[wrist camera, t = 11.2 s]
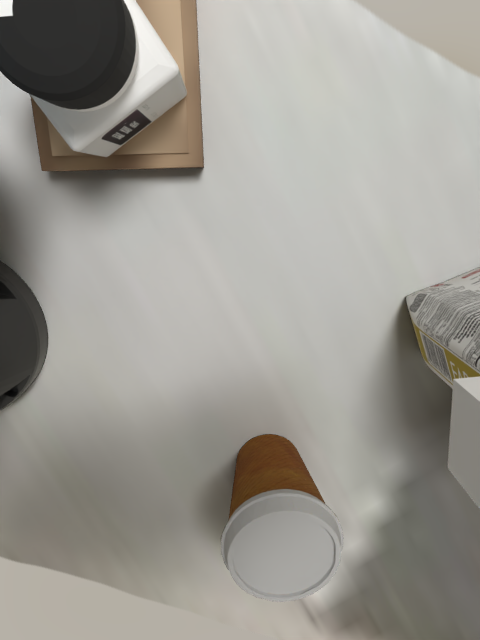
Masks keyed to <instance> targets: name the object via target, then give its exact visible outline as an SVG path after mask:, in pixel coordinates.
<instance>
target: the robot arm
mask: <svg viewBox="0 0 480 640" xmlns="http://www.w3.org/2000/svg"><path fill="white" fill-rule="evenodd" d="M47 346H48V333H47V326H46V321H45V318H44V314H43V312H42V309H41V307H40V305H39V303H38V301H37V299H36V297H35V295H34V294H33V292H32V291H31V290H30V288H29V287H28V286H27V284H26V283H25V282H24V281H23V280H22V279H21V278H20V277H19V276H18V275H17V274H16V273H15V272H14V271H13V270H12V269H10V268H9V267H8V266H6V265H5V264H4V263H2V262H1V261H0V410H1V409H3V408H5V407H6V406H8V405H9V404H11V403H12V402H13V401H15V400H16V399H17V398H18V397H19V396H20V395H21V394H22V393H23V392H24V391H25V390H26V389H27V388H28V387H29V386H30V385H31V383H32V382H33V381H34V380H35V378H36V377H37V375H38V374H39V372H40V370H41V368H42V366H43V364H44V361H45V357H46V353H47ZM448 469H449V470H450V472H451V473H452V474H453V476H454V477H455V478H456V479H457V481H458V482H459V483H460V484H461V486H462V487H463V488H464V490H465V491H466V492H467V493H468V495H469V496H470V497H471V498H472V500H473V501H474V502H475V504H476V505H477V506H478V507H479V509H480V376H479V377H469V378H459V379H453V392H452V408H451V423H450V439H449V455H448Z"/></svg>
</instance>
